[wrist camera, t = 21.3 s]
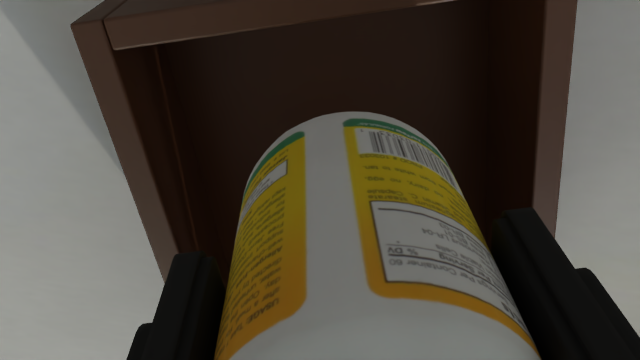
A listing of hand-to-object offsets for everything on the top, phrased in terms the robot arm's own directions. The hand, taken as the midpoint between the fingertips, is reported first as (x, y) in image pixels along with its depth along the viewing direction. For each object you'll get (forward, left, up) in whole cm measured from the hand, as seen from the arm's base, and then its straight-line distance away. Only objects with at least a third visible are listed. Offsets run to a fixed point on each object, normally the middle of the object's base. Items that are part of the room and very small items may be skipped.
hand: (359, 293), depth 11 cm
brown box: (+1, +2, -10) cm, 10 cm away
